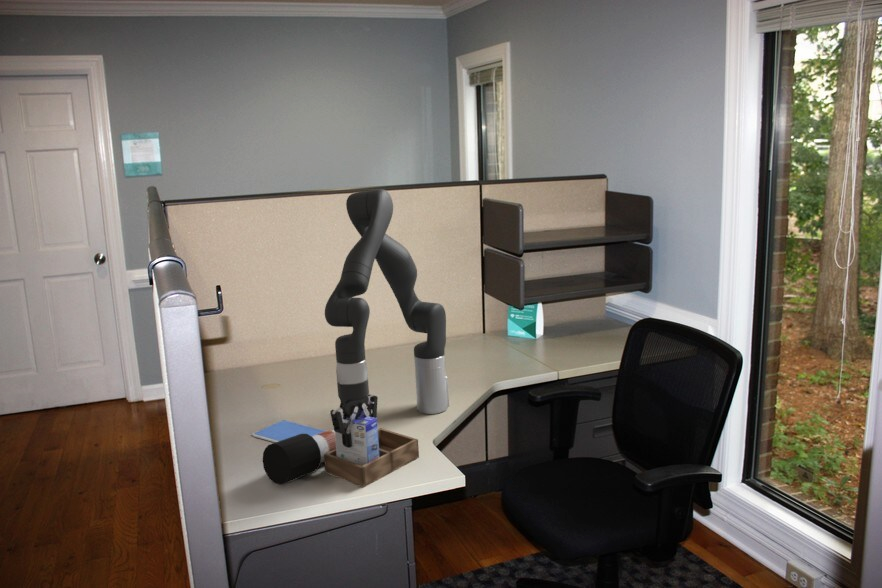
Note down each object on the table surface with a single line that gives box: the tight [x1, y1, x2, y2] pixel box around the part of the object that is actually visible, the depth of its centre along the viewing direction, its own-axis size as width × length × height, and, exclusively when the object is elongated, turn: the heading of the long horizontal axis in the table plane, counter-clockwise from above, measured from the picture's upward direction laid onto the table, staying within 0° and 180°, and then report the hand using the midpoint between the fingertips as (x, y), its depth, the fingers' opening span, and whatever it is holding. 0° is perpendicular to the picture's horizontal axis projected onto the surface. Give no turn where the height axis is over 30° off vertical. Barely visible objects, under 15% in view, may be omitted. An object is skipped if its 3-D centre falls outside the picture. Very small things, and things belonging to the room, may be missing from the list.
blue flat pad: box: [251, 419, 327, 443], centre depth 207 cm, size 19×13×1 cm, turn 54°
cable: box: [262, 429, 336, 485], centre depth 189 cm, size 10×34×10 cm, turn 142°
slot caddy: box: [324, 427, 420, 488], centre depth 185 cm, size 20×14×5 cm
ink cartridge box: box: [335, 411, 379, 466], centre depth 180 cm, size 10×6×14 cm, turn 61°
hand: (357, 441), depth 181 cm, fingers closed on ink cartridge box, 6 cm apart
